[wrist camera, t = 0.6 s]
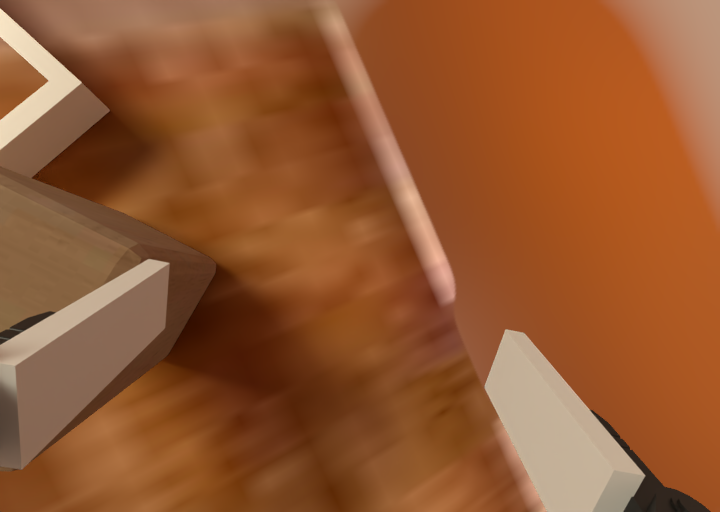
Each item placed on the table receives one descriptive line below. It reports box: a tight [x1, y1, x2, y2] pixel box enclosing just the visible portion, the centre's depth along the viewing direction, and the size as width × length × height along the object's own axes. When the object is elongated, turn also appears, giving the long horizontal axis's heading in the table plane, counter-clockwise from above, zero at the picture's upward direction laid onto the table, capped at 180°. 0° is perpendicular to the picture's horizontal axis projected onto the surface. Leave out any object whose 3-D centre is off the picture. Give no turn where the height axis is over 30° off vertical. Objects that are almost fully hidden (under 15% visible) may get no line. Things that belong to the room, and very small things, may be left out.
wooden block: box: [0, 166, 216, 471], centre depth 23 cm, size 10×10×20 cm
